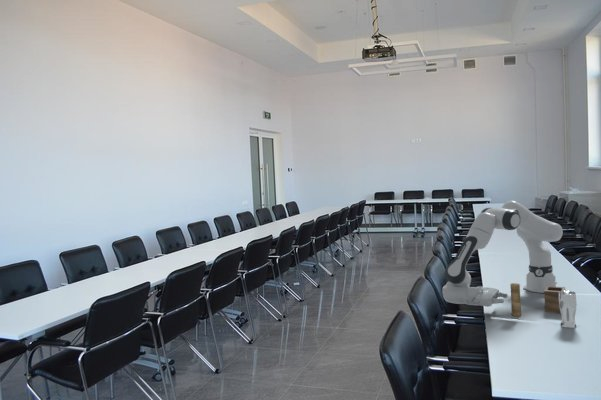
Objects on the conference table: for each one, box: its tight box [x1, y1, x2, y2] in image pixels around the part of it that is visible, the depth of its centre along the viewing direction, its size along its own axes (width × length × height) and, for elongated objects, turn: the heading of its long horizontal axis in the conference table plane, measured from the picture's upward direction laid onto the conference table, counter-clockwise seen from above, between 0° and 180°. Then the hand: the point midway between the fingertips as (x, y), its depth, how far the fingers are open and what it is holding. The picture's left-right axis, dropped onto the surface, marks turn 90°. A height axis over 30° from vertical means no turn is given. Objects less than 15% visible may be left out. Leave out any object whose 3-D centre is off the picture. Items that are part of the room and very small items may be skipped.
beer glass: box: [559, 290, 578, 329], centre depth 216 cm, size 7×7×15 cm
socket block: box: [543, 286, 566, 314], centre depth 236 cm, size 10×8×10 cm
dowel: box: [509, 282, 522, 320], centre depth 232 cm, size 4×4×16 cm
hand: (505, 298), depth 235 cm, fingers open, 8 cm apart
